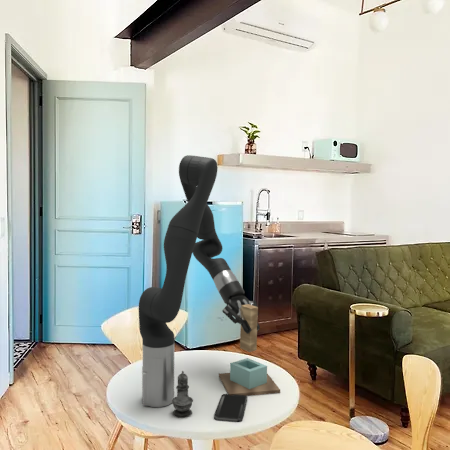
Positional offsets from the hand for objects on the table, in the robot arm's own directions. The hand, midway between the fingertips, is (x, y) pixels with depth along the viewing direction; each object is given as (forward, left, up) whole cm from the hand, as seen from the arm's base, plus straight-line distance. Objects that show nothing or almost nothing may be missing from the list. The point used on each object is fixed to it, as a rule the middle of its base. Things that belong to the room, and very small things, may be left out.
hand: (253, 330), depth 142 cm
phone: (-10, -13, -19) cm, 25 cm away
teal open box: (-1, +2, -18) cm, 18 cm away
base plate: (-1, +2, -18) cm, 18 cm away
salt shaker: (-24, -13, -18) cm, 33 cm away
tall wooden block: (-1, +2, -6) cm, 7 cm away
